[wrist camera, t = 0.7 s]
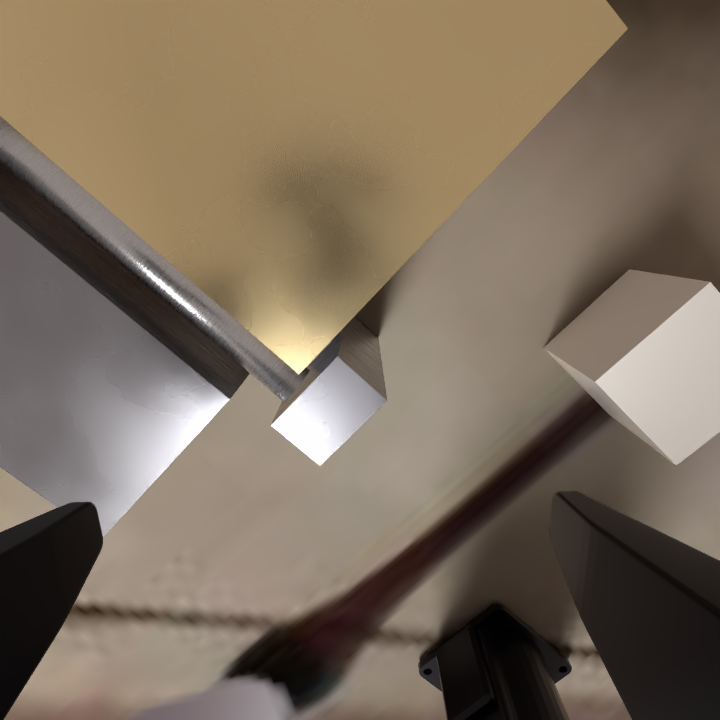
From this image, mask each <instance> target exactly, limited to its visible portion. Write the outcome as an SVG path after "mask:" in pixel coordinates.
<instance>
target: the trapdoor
mask: <svg viewBox="0 0 720 720" xmlns="http://www.w3.org/2000/svg"><path fill="white" fill-rule="evenodd" d="M627 29H628V28H627V27H626V25H625V24H624V23H623V22H622V20H621V19H620V18H619V16H618V15H617V14H616V12H615V11H614V10H613V9H612V7H611V6H610V5H609V3H608V2H607V1H606V0H0V467H1V468H2V469H4V470H5V471H6V472H8V473H9V474H11V475H12V476H14V477H15V478H16V479H18V480H19V481H21V482H22V483H24V484H25V485H26V486H28V487H29V488H31V489H32V490H34V491H35V492H37V493H38V494H39V495H41V496H42V497H44V498H45V499H47V500H48V501H49V502H51V503H52V504H54V505H55V506H57V507H61V506H63V505H65V504H68V503H71V502H92V503H93V504H95V506H96V508H97V512H98V516H99V521H100V525H101V530H102V535H103V536H104V535H105V534H106V533H107V532H108V531H109V530H110V529H111V528H112V527H113V526H114V525H115V523H116V522H117V521H118V520H119V519H120V518H121V517H122V516H123V515H124V514H125V513H126V511H127V510H128V509H129V508H130V507H131V506H132V505H133V504H134V503H135V502H136V501H137V500H138V498H139V497H140V496H141V495H142V494H143V493H144V492H145V491H146V490H147V489H148V488H149V486H150V485H151V484H152V483H153V482H154V481H155V480H156V479H157V478H158V477H159V476H160V475H161V473H162V472H163V471H164V470H165V469H166V468H167V467H168V466H169V465H170V464H171V463H172V461H173V460H174V459H175V458H176V457H177V456H178V455H179V454H180V453H181V452H182V451H183V450H184V448H185V447H186V446H187V445H188V444H189V443H190V442H191V441H192V440H193V439H194V438H195V436H196V435H197V434H198V433H199V432H200V431H201V430H202V429H203V428H204V427H205V426H206V425H207V423H208V422H209V421H210V420H211V419H212V418H213V417H214V416H215V415H216V414H217V413H218V411H219V410H220V409H221V408H222V407H223V406H224V405H225V404H226V403H227V402H228V401H229V400H230V398H231V397H232V396H233V394H234V393H235V392H236V391H237V389H238V388H239V387H240V385H241V384H242V383H243V382H244V380H245V379H246V378H247V376H248V375H249V374H251V375H253V376H254V377H255V378H256V379H257V380H258V381H260V382H261V383H262V384H263V385H264V386H266V387H267V388H268V389H269V390H270V391H271V392H273V393H274V394H275V395H276V396H277V397H279V398H280V399H281V400H282V401H284V400H285V399H286V398H288V397H289V396H290V395H291V394H292V393H293V392H294V391H295V390H296V388H297V387H298V386H299V385H300V384H301V383H302V381H303V380H304V379H305V377H306V376H307V375H308V373H309V371H310V370H309V369H308V368H307V366H308V365H309V363H310V362H311V361H312V360H313V359H314V358H315V357H316V356H317V355H318V354H319V353H320V352H321V351H322V350H323V349H324V348H325V347H326V346H327V345H328V344H329V342H330V341H331V340H332V339H333V338H334V337H335V336H336V335H337V334H338V333H339V332H340V331H341V330H342V329H343V328H344V327H345V326H346V325H347V324H348V322H349V321H350V320H351V319H352V318H353V317H354V316H355V315H356V314H357V313H358V312H359V311H360V310H361V309H362V308H363V307H364V306H365V305H366V304H367V303H368V301H369V300H370V299H371V298H372V297H373V296H374V295H375V294H376V293H377V292H378V291H379V290H380V289H381V288H382V287H383V286H384V285H385V284H386V283H387V281H388V280H389V279H390V278H391V277H392V276H393V275H394V274H395V273H396V272H397V271H398V270H399V269H400V268H401V267H402V266H403V265H404V264H405V263H406V262H407V260H408V259H409V258H410V257H411V256H412V255H413V254H414V253H415V252H416V251H417V250H418V249H419V248H420V247H421V246H422V245H423V244H424V243H425V242H426V241H427V239H428V238H429V237H430V236H431V235H432V234H433V233H434V232H435V231H436V230H437V229H438V228H439V227H440V226H441V225H442V224H443V223H444V222H445V221H446V219H447V218H448V217H449V216H450V215H451V214H452V213H453V212H454V211H455V210H456V209H457V208H458V207H459V206H460V205H461V204H462V203H463V202H464V201H465V200H466V198H467V197H468V196H469V195H470V194H471V193H472V192H473V191H474V190H475V189H476V188H477V187H478V186H479V185H480V184H481V183H482V182H483V181H484V180H485V178H486V177H487V176H488V175H489V174H490V173H491V172H492V171H493V170H494V169H495V168H496V167H497V166H498V165H499V164H500V163H501V162H502V161H503V160H504V159H505V157H506V156H507V155H508V154H509V153H510V152H511V151H512V150H513V149H514V148H515V147H516V146H517V145H518V144H519V143H520V142H521V141H522V140H523V139H524V137H525V136H526V135H527V134H528V133H529V132H530V131H531V130H532V129H533V128H534V127H535V126H536V125H537V124H538V123H539V122H540V121H541V120H542V119H543V118H544V116H545V115H546V114H547V113H548V112H549V111H550V110H551V109H552V108H553V107H554V106H555V105H556V104H557V103H558V102H559V101H560V100H561V99H562V98H563V96H564V95H565V94H566V93H567V92H568V91H569V90H570V89H571V88H572V87H573V86H574V85H575V84H576V83H577V82H578V81H579V80H580V79H581V78H582V77H583V75H584V74H585V73H586V72H587V71H588V70H589V69H590V68H591V67H592V66H593V65H594V64H595V63H596V62H597V61H598V60H599V59H600V58H601V57H602V56H603V54H604V53H605V52H606V51H607V50H608V49H609V48H610V47H611V46H612V45H613V44H614V43H615V42H616V41H617V40H618V39H619V38H620V37H621V36H622V34H623V33H624V32H625V31H626V30H627Z"/></svg>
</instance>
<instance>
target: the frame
mask: <svg viewBox="0 0 720 720" xmlns="http://www.w3.org/2000/svg"><path fill="white" fill-rule="evenodd" d="M307 368H308V369H309V370H310V371H309V373H308V375H307V376H306V377H305V379H304V380H303V381H302V383H301V384H300V385H299V386H298V387H297V388H296V390H295V391H294V392H293V393H292V394H291V395H290V396H289V397H288V398H286V399H285V400H284V401H282V403H281V405H280V407H279V409H278V412H277V414H276V416H275V418H274V420H273V422H272V424H271V426H272V427H274V428H275V429H276V430H277V431H278V432H280V433H281V434H282V435H283V436H284V437H286V438H287V439H288V440H289V441H291V442H292V443H293V444H294V445H295V446H297V447H298V448H299V449H300V450H301V451H303V452H304V453H305V454H306V455H308V456H309V457H310V458H311V459H312V460H314V461H315V462H316V463H317V464H318V465H321V464H322V463H324V462H325V461H326V460H327V459H328V458H329V457H330V456H331V455H332V454H333V453H334V452H335V451H336V450H337V449H338V448H339V447H340V446H341V445H342V444H343V443H344V442H345V441H346V440H347V439H348V438H349V437H350V436H351V435H352V434H353V433H354V432H355V431H356V430H357V429H358V428H360V427H361V426H362V425H363V424H364V423H365V422H366V421H367V420H368V419H369V418H370V417H371V416H372V415H373V414H374V413H375V412H376V411H377V410H378V409H379V408H380V407H381V406H382V405H383V404H384V403H385V402H386V401H387V397H386V389H385V382H384V375H383V368H382V361H381V353H380V346H379V339H378V337H377V336H376V335H375V334H374V333H373V332H372V331H370V330H369V329H368V328H367V327H366V326H365V325H364V324H363V323H362V322H361V321H360V320H359V319H357V318H356V317H355V316H354V317H353V318H352V319H351V320H350V321H349V322H348V324H347V325H346V326H345V327H344V328H343V329H342V330H341V331H340V332H339V333H338V334H337V335H336V336H335V337H334V338H333V339H332V340H331V341H330V342H329V344H328V345H327V346H326V347H325V348H324V349H323V350H322V351H321V352H320V353H319V354H318V355H317V356H316V357H315V358H314V359H313V360H312V361H311V362H310V363H309V365H308V366H307Z"/></svg>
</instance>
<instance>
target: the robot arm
mask: <svg viewBox="0 0 720 720" xmlns="http://www.w3.org/2000/svg"><path fill="white" fill-rule="evenodd" d="M549 531H550V538H551V542H552V544H553V547H554V550H555V552H556V555H557V558H558V560H559V563H560V565H561V568H562V571H563V573H564V576H565V579H566V581H567V584H568V586H569V589H570V592H571V594H572V597H573V600H574V602H575V605H576V607H577V610H578V612H579V614H580V617H581V619H582V621H583V623H584V625H585V627H586V629H587V631H588V633H589V635H590V637H591V639H592V641H593V643H594V645H595V647H596V649H597V651H598V653H599V655H600V657H601V659H602V661H603V663H604V665H605V667H606V669H607V671H608V673H609V675H610V677H611V679H612V681H613V683H614V685H615V687H616V689H617V691H618V693H619V695H620V697H621V698H622V700H623V702H624V704H625V706H626V708H627V710H628V712H629V714H630V716H631V718H632V720H720V561H719V560H717V559H715V558H713V557H711V556H709V555H707V554H705V553H703V552H701V551H699V550H697V549H695V548H692V547H690V546H688V545H686V544H684V543H682V542H680V541H678V540H676V539H674V538H672V537H670V536H668V535H666V534H664V533H662V532H660V531H658V530H656V529H654V528H652V527H650V526H647V525H645V524H643V523H641V522H639V521H637V520H635V519H633V518H631V517H629V516H627V515H625V514H623V513H621V512H619V511H617V510H615V509H613V508H611V507H609V506H607V505H604V504H602V503H600V502H598V501H596V500H594V499H592V498H590V497H588V496H586V495H584V494H582V493H580V492H578V491H557V492H555V493H554V495H553V497H552V505H551V516H550V527H549ZM102 545H103V535H102V530H101V525H100V521H99V516H98V512H97V508H96V506H95V504H93V503H92V502H71V503H68V504H65V505H63V506H61V507H58V508H56V509H54V510H51V511H49V512H47V513H44V514H42V515H40V516H37V517H35V518H33V519H30V520H28V521H26V522H23V523H21V524H19V525H16V526H14V527H12V528H9V529H7V530H5V531H2V532H0V720H4V718H5V717H6V715H7V714H8V712H9V710H10V709H11V707H12V706H13V704H14V702H15V701H16V699H17V698H18V696H19V694H20V693H21V691H22V690H23V688H24V687H25V685H26V683H27V682H28V680H29V679H30V677H31V675H32V674H33V672H34V671H35V669H36V667H37V666H38V664H39V663H40V661H41V659H42V658H43V656H44V655H45V653H46V651H47V650H48V648H49V647H50V645H51V643H52V642H53V640H54V639H55V637H56V635H57V634H58V632H59V630H60V629H61V627H62V625H63V623H64V622H65V620H66V618H67V616H68V614H69V612H70V610H71V609H72V607H73V605H74V603H75V601H76V599H77V597H78V595H79V593H80V591H81V589H82V587H83V585H84V583H85V581H86V579H87V577H88V575H89V573H90V571H91V569H92V567H93V565H94V563H95V561H96V559H97V557H98V556H99V554H100V551H101V549H102ZM498 613H500V614H498ZM496 614H498V615H496ZM418 666H419V673H420V675H421V676H422V677H423V678H424V679H426V680H427V681H428V682H430V683H431V684H432V685H434V686H435V687H436V688H438V689H439V690H440V691H442V693H443V699H444V705H445V711H446V717H447V720H570V719H569V717H568V714H567V712H566V710H565V707H564V705H563V703H562V700H561V698H560V695H559V693H558V691H557V688H556V686H555V683H557V682H558V681H559V680H561V679H562V678H564V677H565V676H566V675H568V674H569V673H570V672H571V670H572V668H571V665H570V663H569V661H568V659H567V658H566V657H565V656H563V655H562V654H561V653H560V652H559V651H557V650H556V649H555V648H554V647H553V646H551V645H550V644H549V643H548V642H547V641H545V640H544V639H543V638H542V637H541V636H539V635H538V634H537V633H536V632H535V631H533V630H532V629H531V628H530V627H529V626H527V625H526V624H525V623H524V622H523V621H521V620H520V619H519V618H518V617H517V616H515V615H514V614H513V613H512V612H511V611H509V610H508V609H507V608H506V607H505V606H503V605H501V604H494V605H492V606H490V607H489V608H488V609H487V610H485V611H484V612H483V613H481V614H480V615H479V616H478V617H476V618H475V619H474V620H472V621H471V622H470V623H469V624H467V625H466V626H465V627H464V628H462V629H461V630H460V631H458V632H457V633H456V634H455V635H453V636H452V637H451V638H449V639H448V640H447V641H446V642H444V643H443V644H442V645H440V646H439V647H438V648H437V649H435V650H434V651H433V652H432V653H430V654H429V655H428V656H426V657H425V658H424V659H423V660H421V661H420V662H419V665H418ZM427 668H428V669H427Z"/></svg>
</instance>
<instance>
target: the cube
mask: <svg viewBox="0 0 720 720" xmlns="http://www.w3.org/2000/svg"><path fill="white" fill-rule="evenodd" d="M544 349H545V350H546V351H547V352H548V353H549V354H550V355H551V356H552V357H553V358H554V359H555V360H556V361H557V362H558V363H559V364H560V365H561V366H562V367H563V368H564V369H565V370H566V371H567V372H568V373H569V374H570V375H571V376H572V377H573V378H574V379H575V380H576V381H577V382H578V383H579V384H580V385H581V386H582V387H583V388H584V389H585V390H586V391H587V393H588V394H589V395H590V396H591V397H592V398H593V399H594V400H595V401H596V402H597V403H598V404H599V405H600V406H601V407H602V408H603V409H604V410H605V411H606V412H607V413H608V414H609V415H610V416H612V417H613V418H614V419H615V420H617V421H618V422H619V423H621V424H622V425H623V426H625V427H626V428H627V429H629V430H630V431H631V432H633V433H634V434H635V435H636V436H638V437H639V438H640V439H642V440H643V441H644V442H646V443H647V444H648V445H650V446H651V447H652V448H654V449H655V450H656V451H658V452H659V453H660V454H661V455H663V456H664V457H665V458H667V459H668V460H669V461H671V462H672V463H673V464H675V465H678V464H679V463H680V462H682V461H683V460H684V459H685V458H687V457H688V456H689V455H691V454H692V453H693V452H694V451H696V450H697V449H698V448H700V447H701V446H702V445H703V444H705V443H706V442H707V441H709V440H710V439H711V438H712V437H714V436H715V435H716V434H718V433H719V432H720V292H719V291H718V290H717V289H716V288H715V287H714V285H713V284H712V283H711V282H708V281H702V280H695V279H689V278H682V277H676V276H670V275H663V274H657V273H650V272H644V271H638V270H631V269H629V270H628V271H627V272H626V273H625V274H624V275H622V276H621V277H620V278H619V279H618V280H617V281H616V282H615V283H614V284H613V285H612V286H610V287H609V288H608V289H607V290H606V291H605V292H604V293H603V294H602V295H601V296H599V297H598V298H597V299H596V300H595V301H594V302H593V303H592V304H591V305H590V306H588V307H587V308H586V309H585V310H584V311H583V312H582V313H581V314H580V315H579V316H578V317H576V318H575V319H574V320H573V321H572V322H571V323H570V324H569V325H568V326H567V327H565V328H564V329H563V330H562V331H561V332H560V333H559V334H558V335H557V336H556V337H555V338H553V339H552V340H551V341H550V342H549V343H548V344H547V345H546V346H545V347H544Z"/></svg>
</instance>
